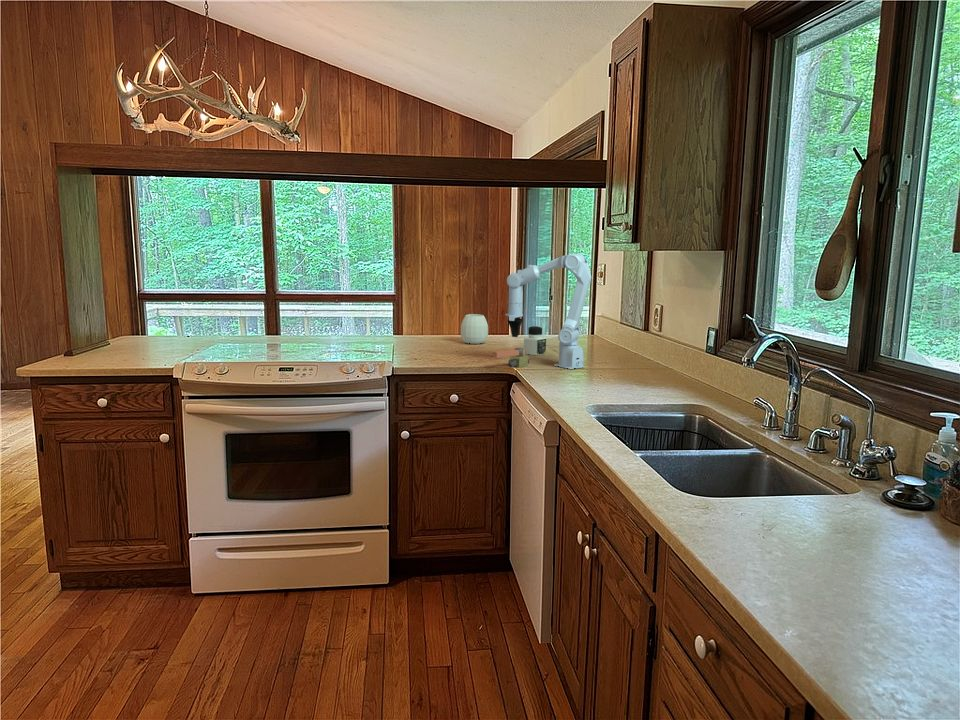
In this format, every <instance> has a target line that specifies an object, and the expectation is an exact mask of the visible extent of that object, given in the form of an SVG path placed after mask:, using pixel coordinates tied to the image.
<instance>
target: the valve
mask: <svg viewBox="0 0 960 720" xmlns="http://www.w3.org/2000/svg"><path fill="white" fill-rule="evenodd" d="M507 362H508V367H510V368H513V367H514V368H518V369H519V368H520V369H521V368H528V367H529V364H530V359H529V355H526V354H525V355H516V356H509V360H508V361H507ZM527 366H528V367H527Z"/></svg>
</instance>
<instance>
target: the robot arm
mask: <svg viewBox="0 0 960 720" xmlns="http://www.w3.org/2000/svg"><path fill="white" fill-rule="evenodd" d="M587 259H588V258H586V257H585V256H584V254H582V253H578V252H577V253H569V254H567V255H562V256H559V257H557V258H554V259H551V260H550V261H548V262H545V263H543V264H542V265H539V266H538V265H535V264H533V265H532V264H528V265H527V267H526V268H523V269H518V270H517V272H512V273H510V274H509V275H508V276H507V278H506V283H507V286H508V301H507V303H508V308H507V313H505V314H504V315H505V316H506V317H508V319H507V323H508V325H509V328H510V332H511V337H512V338H517V337H518V336H519V333H520V329H521V326H522V323H523V321H524V318H522V317H524V314H523V310H524V309H523V305H524V304H523V303H524V302H523V301H524V286H525V285H527V284H530V283H532V282H535V281H537V280H540V279H541V277H542V275H543V274H545V273H548V272H551V271H552V270H556V269H558V268H562V269H567V270H568V271H569V272H571V273H572V275H573V276H574V277H575V279H576V280H577V281H576V284H575V286H574V289H573V290H574V291H573V295H572V298H571V302H570V305H569V308H568V313H567V315H566V319H565V321H564V323H563V325H562V328H561V329H560V331H559V332H558V334H557V335H558V336H557V338H558V341H559V347H558V363H555V364H553V366H555V367H558V366H559V367H558V368H563V369H567V368H568V369H567V370H575V369H574V368H576V369H582V368H585V367H586V366H584V349H583V348H582V347H581V346H580V345H579V342H578V339H579V338H580V335H581V334H580V321H581V318H582V312H583V310H584V306H585V302H586V298H587V296H588V293H589V289H590V285H591V280H592V274H591V270H590V268H589V267H590V266H589V261H588V260H587Z"/></svg>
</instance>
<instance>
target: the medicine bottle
mask: <svg viewBox="0 0 960 720" xmlns="http://www.w3.org/2000/svg"><path fill="white" fill-rule="evenodd" d="M527 332H528V333H527V335H528V337H527V336H526V337H524V338H523V349H525V355H528V354H530V355H529V356H535V355H538V356H541V355H545V354H546V353H547V338H546V337H545V336H543V328H542V326H536V325H532V326H530V327H528V330H527Z"/></svg>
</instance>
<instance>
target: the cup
mask: <svg viewBox="0 0 960 720" xmlns="http://www.w3.org/2000/svg"><path fill="white" fill-rule="evenodd" d="M488 336H489V325H488V322H487V318H486V317H485V316H484V314H480V313H479V314H477V313H475V314H474V313H469V314H465V316H464V317H463V319H462V321H461V324H460V337H461V340H462V341H463V343H466V344H469V343H470V344H469V345H479V344H480V343H481V344H484V343H485V342H486V341H487V339H488Z"/></svg>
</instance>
